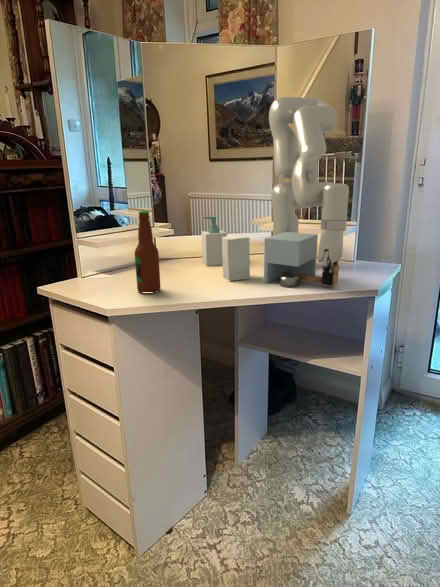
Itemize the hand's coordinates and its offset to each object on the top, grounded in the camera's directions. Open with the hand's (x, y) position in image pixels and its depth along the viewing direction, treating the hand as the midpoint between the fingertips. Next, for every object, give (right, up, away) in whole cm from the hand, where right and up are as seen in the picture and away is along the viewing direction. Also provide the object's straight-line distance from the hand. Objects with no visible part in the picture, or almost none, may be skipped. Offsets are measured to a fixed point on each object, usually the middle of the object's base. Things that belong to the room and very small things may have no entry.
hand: (329, 282), depth 130 cm
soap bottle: (-37, +8, +36) cm, 53 cm away
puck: (-12, -1, +4) cm, 13 cm away
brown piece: (-6, +1, +4) cm, 8 cm away
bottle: (-58, -3, 0) cm, 58 cm away
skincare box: (-29, +1, +13) cm, 32 cm away
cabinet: (-11, +1, +10) cm, 15 cm away
